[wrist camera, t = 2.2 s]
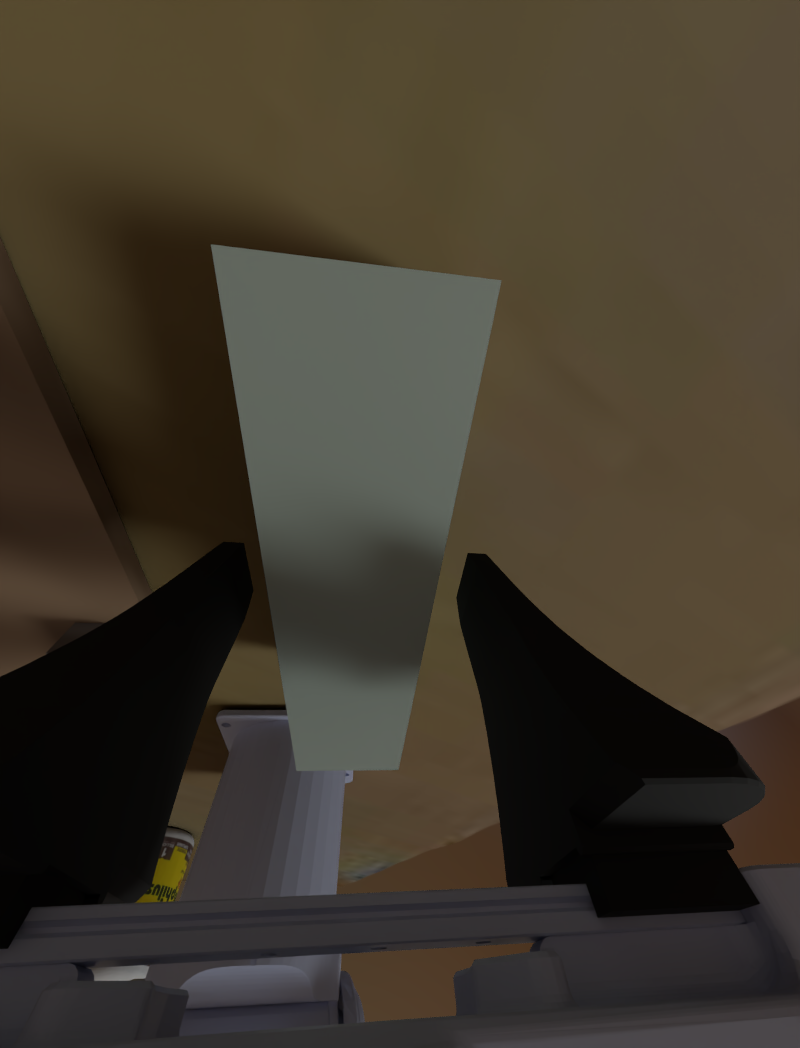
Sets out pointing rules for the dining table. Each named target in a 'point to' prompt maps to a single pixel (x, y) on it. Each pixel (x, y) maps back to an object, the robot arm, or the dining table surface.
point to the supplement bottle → (157, 893)
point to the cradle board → (51, 503)
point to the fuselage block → (351, 475)
